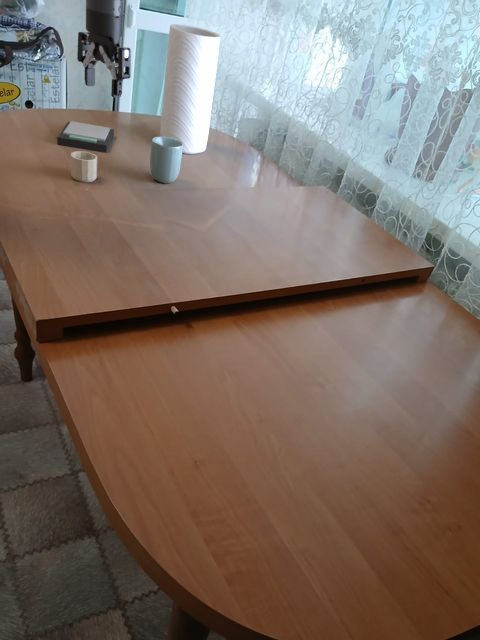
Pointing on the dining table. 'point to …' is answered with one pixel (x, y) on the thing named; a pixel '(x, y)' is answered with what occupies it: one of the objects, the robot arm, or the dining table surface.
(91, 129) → the scale
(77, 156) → the faceted beige tumbler
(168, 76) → the vase
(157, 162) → the cup
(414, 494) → the dining table surface
